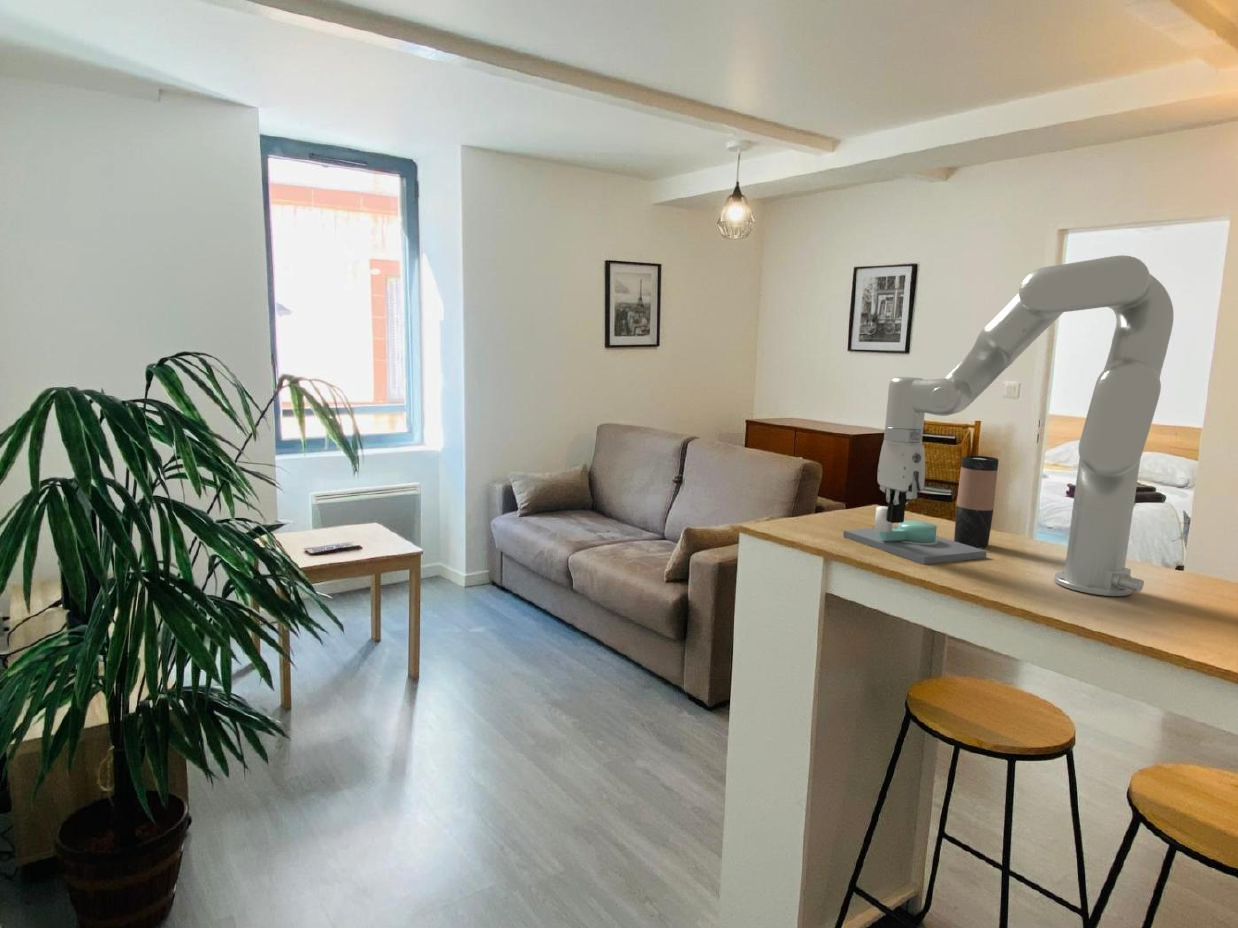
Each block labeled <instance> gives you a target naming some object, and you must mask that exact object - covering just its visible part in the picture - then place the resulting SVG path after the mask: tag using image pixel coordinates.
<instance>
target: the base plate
mask: <svg viewBox="0 0 1238 928" xmlns="http://www.w3.org/2000/svg"><path fill="white" fill-rule="evenodd" d="M874 528H875V527H873V528H860V529H848V530H847V529H846V530H843V536H844V537H843V538H845V537H846V538H845V539H848V538H849V540H851V541H854V542H857V543H861V544H863V545H867V546H869V547H873V548H875V549H878V550H880V551H884V552H886V553H890V554H892V555H894V556H895V555H896V556H898V557H901V558H904V559H906V560H910V561H913V562H916V563H919V564H922V565H929V564H939V563H949V562H959V561H960V562H961V561H967V560H977V559H986V558H987V552H988V551H987V550H984V549H983V548H975V547H972V546H969V545H965V544H962V543H958V542H955V541H954V540H952V539H948V538H944V537H941V536H938V535H936V539H935V541H934V542H915V541H909V540H890V541H885V540H883V539H880V538H879V531H876V530H874ZM896 528H898V525H897V526H892V529H896Z"/></svg>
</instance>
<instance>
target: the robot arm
mask: <svg viewBox="0 0 1238 928" xmlns="http://www.w3.org/2000/svg"><path fill="white" fill-rule="evenodd" d="M1018 288H1019V289H1018V292H1017V293H1016V294H1015V295H1014V296H1013V297H1012V298H1011V299H1010V300H1009V301H1008V303H1006V305H1004V306H1003V307H1002V308H1001V309H1000V311H999V312H997V314H996V315H995V316H994V317H992V319H991V320H990V321H989V322H988V323H986V324H985V326H983V328H982V329H981V330H980V331H979V334H978V335H977V337H976V340H975V343H974V344H973V346H972V348H971V350H970V351H969V352H968V353H967V355H966V356H964V358H963V359H962V360H961V361H960V362H959V364H958V365H956V366H955V368H954V369H953V370H952V371H951V372H950V373H949V374H948V375H946V377H944V378H933V379H932V378H931V379H924V378H921V377H913V376H912V377H911V376H895V377H892V378H891V380H890V381H889V385H888V391H887V392H888V393H887V404H886V412H885V414H886V415H885V424H884V425H885V426H884V435H883V441H882V445H881V450H880V454H879V460H878V466H877V476H876V477H877V483H878V485H879V490H880V491H882V492H883V493H884V494H885V500H886V502H887V507H888V509H887V521H888V522H891V523H893V524H898V523H903V522H904V521H905V513H906V506H907V505H908V503H909V501H910V500H915V499H917V498H918V493H919V492H923V491H924V489H925V478H926V454H925V446H924V444H922V443H923V437H924V436H923V435H924V427H925V415H926V414H930V415H934V416H939V417H941V416H942V417H945V416H951V415H955V414H958V413H961V412H962V411H964V410H966V409H967V407H969V406H971V404H972V403H973V402H974V401H975V400H977V398H979V396H980V395H981V394H982V393H984V391H986V390H987V389H988V388H989V386H991V384H992V383H994V382H995V380H996V379H997V378H999V376H1000V375H1001V374H1002V373H1003V372H1005V370H1007V369H1008V368H1009V367H1010V366H1011V365H1013V363H1014V362H1015V360H1017V359H1018V358H1019V356H1020V355H1021V354H1023V353H1024V352H1025V350H1027V348H1028V347H1029V346H1031V344H1033V343H1034V342H1035V340H1037V338H1038V337H1040V336H1041V335H1043V333H1044V332H1045V331H1046V330H1047V329H1048V328H1049V327H1050V326H1051V325H1052V324H1053V323H1054V322H1055V321H1057V319H1058V318H1059V317H1061V315H1063V313H1067V312H1068V313H1069V312H1074V311H1075V312H1076V311H1084V310H1092V309H1099V308H1109V309H1111V310H1112V311H1113V312H1114V315H1115V319H1116V324H1115V328H1114V333H1113V337H1112V341H1111V345H1110V349H1109V352H1108V355H1107V359H1106V362H1105V366H1104V368H1103V370H1102V372H1101V373H1100V374H1099V376H1098V377H1097V380H1096V382H1095V385H1094V389H1093V391H1092V392H1093V393H1092V396H1091V399H1090V403H1089V406H1088V410H1087V415H1086V417H1085V421H1084V424H1083V428H1082V432H1081V435H1080V439H1079V442H1078V455H1079V460H1078V465H1077V474H1076V480H1075V489H1074V496H1073V503H1072V509H1071V510H1072V512H1071V518H1070V524H1069V525H1070V526H1069V534H1068V540H1067V550H1066V557H1065V566H1064V571H1059V572H1056V573H1055V574H1054V578H1053V580H1054V582H1055V583H1056V584H1058V585H1059V586H1062V587H1064V588H1067V589H1069V590H1073V591H1076V592H1081V593H1085V594H1090V595H1096V596H1097V595H1098V596H1106V597H1125V596H1129V595H1132V593H1133V591H1134V592H1138V593H1140V592H1142V590H1143V588H1144V584H1145V581H1144V579H1140V578H1136V577H1132V576H1131V573H1132V570H1131V568H1128V567H1126V564H1127V563H1126V561H1127V555H1128V547H1129V540H1130V534H1131V525H1132V520H1133V512H1134V507H1135V501H1136V494H1137V486H1138V479H1139V478H1138V477H1139V471H1140V464H1141V460H1142V456H1143V452H1144V450H1145V446H1146V443H1147V439H1148V436H1149V433H1150V430H1151V427H1152V423H1153V420H1154V416H1155V412H1156V410H1157V406H1158V403H1159V399H1160V394H1161V390H1162V387H1161V386H1162V383H1161V374H1162V370H1163V367H1164V363H1165V359H1166V356H1167V352H1168V351H1167V350H1168V346H1169V343H1170V339H1171V335H1172V331H1173V326H1174V317H1175V316H1174V305H1173V302H1172V300H1171V297H1170V295H1169V292H1168V291H1167V290H1166V287H1165V286H1164V285H1163V284H1162V282H1160V281H1159V280H1158V279H1157V278H1156V277H1155V276H1153V275H1152V274H1151V273H1150V270H1149V268H1148V267H1147V265H1146V264H1145V263H1144V262H1143V261H1142V260H1141V259H1139V258H1136V257H1134V256H1131V255H1123V254H1122V255H1112V256H1107V257H1099V258H1095V259H1088V260H1082V261H1077V262H1075V261H1074V262H1070V263H1064V264H1063V263H1062V264H1057V265H1056V264H1055V265H1049V266H1043V267H1040V268H1037V269H1035V270H1033V271H1031V272H1030V273H1028V274H1027V275H1026V276H1025V277H1024V279H1023V280H1022V281H1021V283H1020V286H1019V287H1018Z"/></svg>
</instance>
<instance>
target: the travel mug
mask: <svg viewBox="0 0 1238 928" xmlns="http://www.w3.org/2000/svg"><path fill="white" fill-rule="evenodd" d="M960 465H961V466H960V472H959V473H960V474H959V481H958V482H959V483H958V490H957V491H958V492H957V497H956V499H957V500H956V508H955V509H956V510H955V519H954V520H955V522H954V534H953V535H954V537H953V541H955V542H958V543H962V544H965V545H969V546H972V547H975V548H979V549H986V548H988V546H989V541H990V536H991V529H992V522H993V514H994V508H995V499H996V498H995V497H996V489H997V488H996V487H997V478H998V469H999V459H998V458H996V457H994V456H993V457H992V456H986V455H985V456H984V455H975V454H974V455H972V454H969V455H966V456H963V455H962V456H961V464H960Z"/></svg>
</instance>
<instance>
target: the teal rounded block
mask: <svg viewBox="0 0 1238 928" xmlns="http://www.w3.org/2000/svg"><path fill="white" fill-rule="evenodd" d="M875 508H876V509H875V519H874V527H873V528H874V530H876V531H879V538H880V539H883V540H885V541H890V540H909V541H915V542H934V541H935V539H936V536H937V528H938V526H937V525H936V524H933V523H930V522H926V521H918V520H904V522H903V523H897V526H898V528H896V529H892V527H893V524H894V523H891V522H888V521H887V509H888V506H885V505H883V506H882V505H881V506H880V505H879V506H876V507H875Z"/></svg>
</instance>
